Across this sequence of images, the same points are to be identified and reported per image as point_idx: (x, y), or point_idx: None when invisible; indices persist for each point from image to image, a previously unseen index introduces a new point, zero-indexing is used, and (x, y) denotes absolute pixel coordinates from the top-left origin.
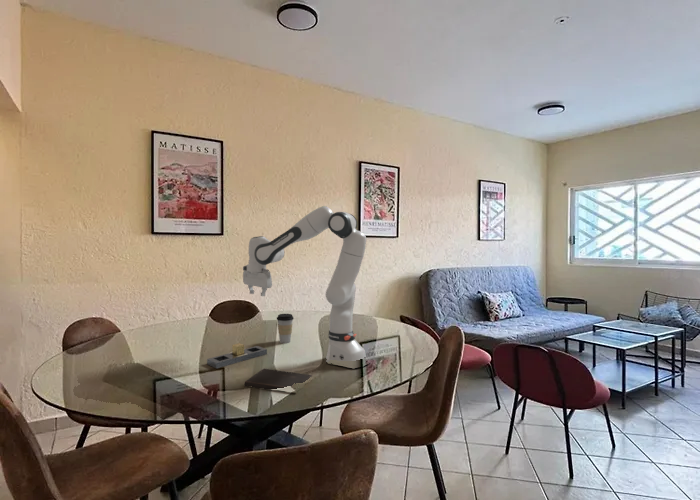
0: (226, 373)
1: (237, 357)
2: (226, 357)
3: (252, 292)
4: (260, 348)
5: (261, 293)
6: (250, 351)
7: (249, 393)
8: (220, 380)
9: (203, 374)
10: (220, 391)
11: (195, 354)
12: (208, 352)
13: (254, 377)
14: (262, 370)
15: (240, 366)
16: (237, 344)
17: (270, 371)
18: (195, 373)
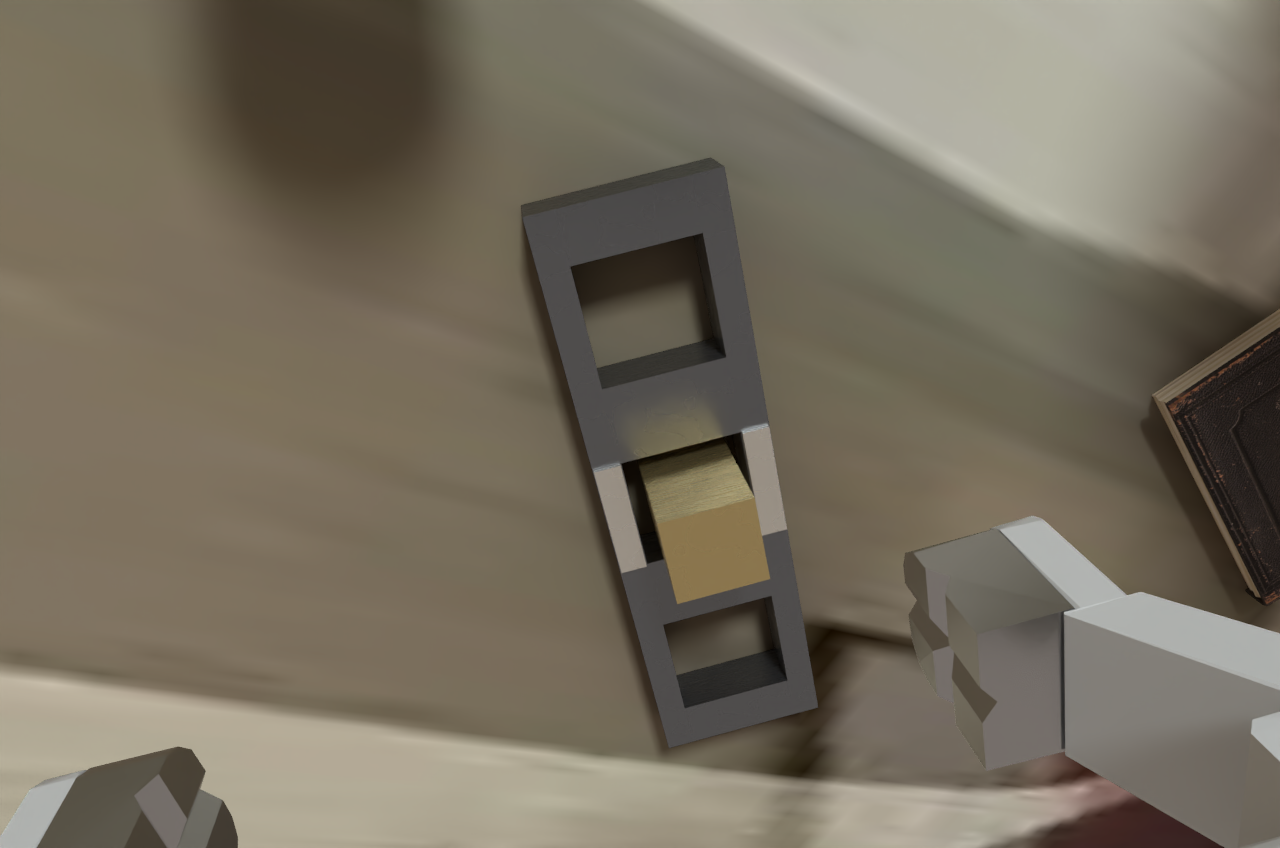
0: None
1: (787, 531)
2: (713, 607)
3: (188, 844)
4: (651, 225)
5: (1040, 728)
6: (691, 368)
7: None
8: None
9: (859, 762)
10: None
11: (332, 753)
12: (323, 656)
13: (1264, 531)
14: (1197, 433)
15: (883, 511)
16: (694, 555)
17: (1267, 384)
18: (805, 800)
